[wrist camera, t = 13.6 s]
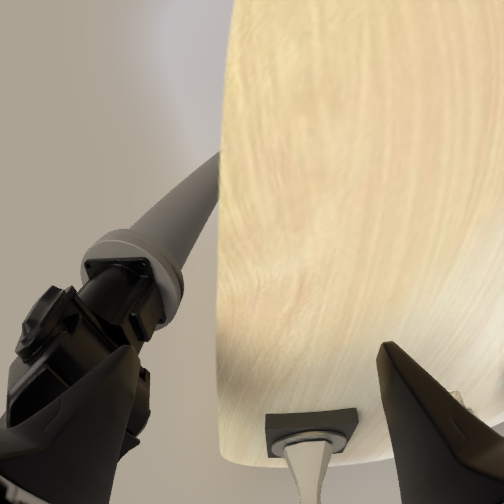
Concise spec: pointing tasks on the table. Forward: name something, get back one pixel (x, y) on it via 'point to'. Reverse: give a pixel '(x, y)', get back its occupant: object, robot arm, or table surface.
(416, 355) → the table surface
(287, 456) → the flask
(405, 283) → the table surface
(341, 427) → the scale
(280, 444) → the pan
